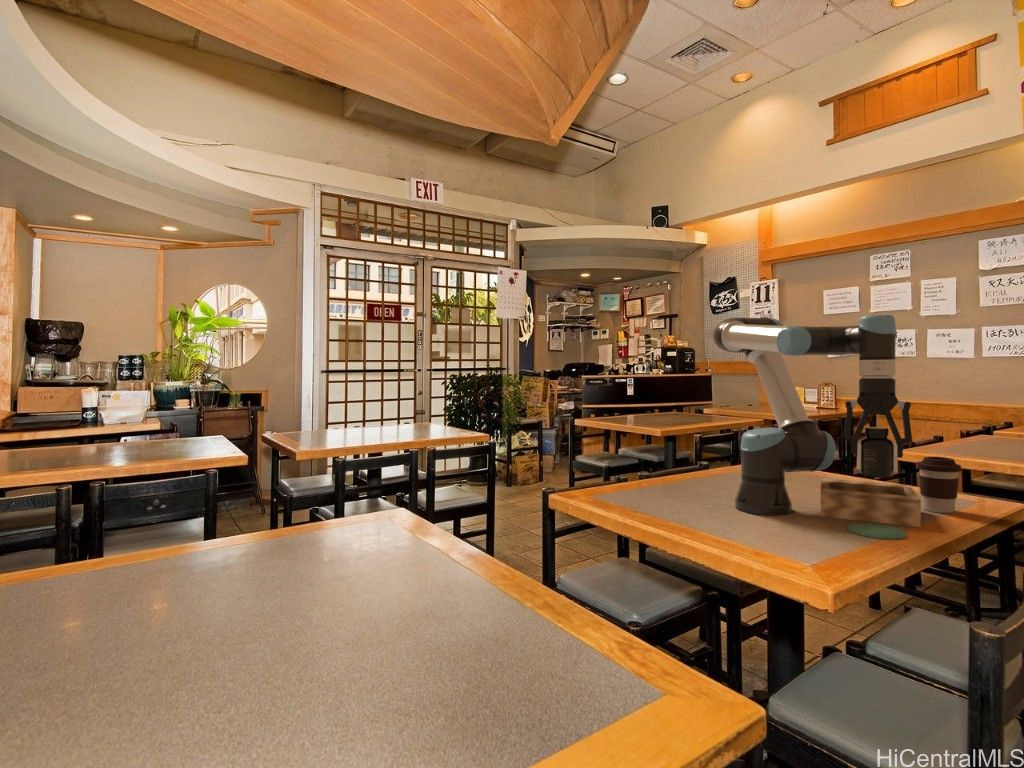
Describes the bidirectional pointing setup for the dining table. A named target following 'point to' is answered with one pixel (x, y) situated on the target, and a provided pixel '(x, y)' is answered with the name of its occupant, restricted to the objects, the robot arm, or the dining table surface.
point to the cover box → (870, 502)
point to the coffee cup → (938, 483)
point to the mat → (876, 531)
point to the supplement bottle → (876, 453)
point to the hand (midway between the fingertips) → (876, 469)
